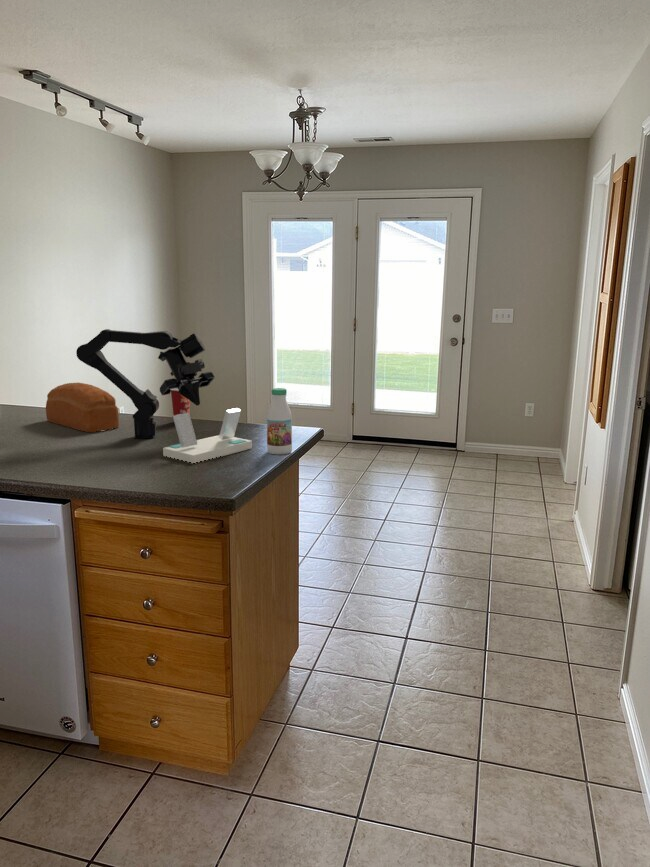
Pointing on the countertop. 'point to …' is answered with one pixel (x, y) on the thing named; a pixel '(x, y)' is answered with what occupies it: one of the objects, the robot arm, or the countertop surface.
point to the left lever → (185, 430)
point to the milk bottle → (279, 424)
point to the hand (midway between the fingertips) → (198, 404)
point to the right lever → (229, 423)
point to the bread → (82, 407)
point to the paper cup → (179, 402)
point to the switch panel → (207, 449)
